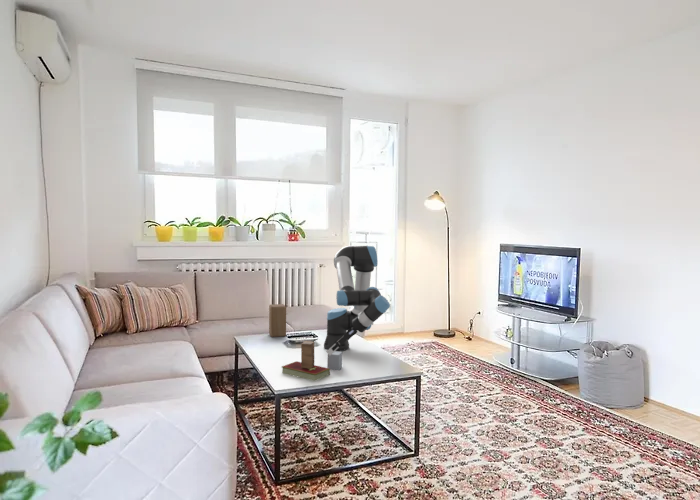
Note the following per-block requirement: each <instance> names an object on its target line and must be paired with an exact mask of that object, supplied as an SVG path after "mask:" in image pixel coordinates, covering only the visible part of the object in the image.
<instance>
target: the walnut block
mask: <svg viewBox="0 0 700 500" xmlns="http://www.w3.org/2000/svg"><path fill="white" fill-rule="evenodd" d="M300 347H301V348H300V349H301V351H300V352H301V354H300V355H301V361H300V362H301V368H312V367H313V366H314V365H315V341H309V340H304V341H303V342H301V344H300Z"/></svg>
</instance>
